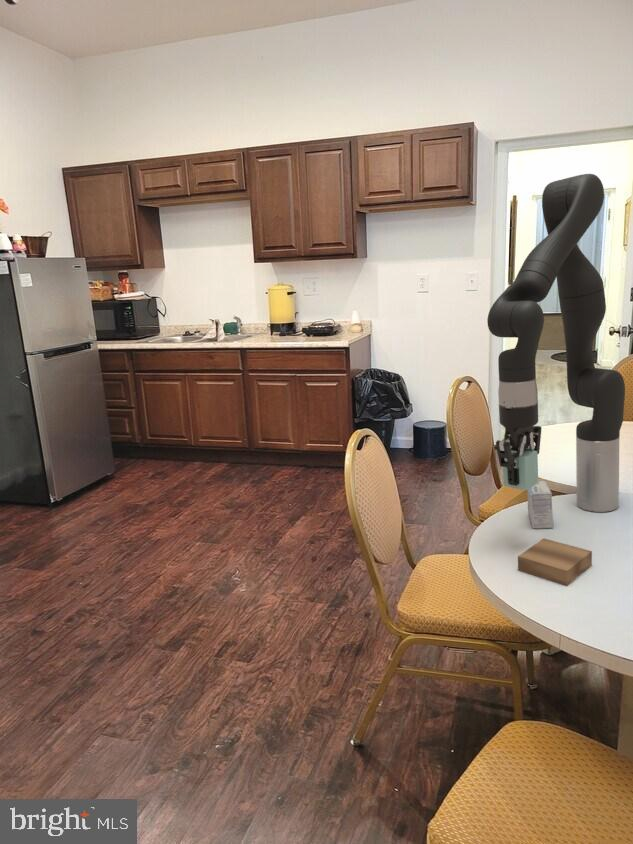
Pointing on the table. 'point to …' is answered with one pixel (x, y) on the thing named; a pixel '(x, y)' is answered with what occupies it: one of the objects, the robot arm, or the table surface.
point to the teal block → (524, 470)
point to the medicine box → (540, 505)
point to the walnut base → (555, 561)
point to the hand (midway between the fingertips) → (520, 480)
